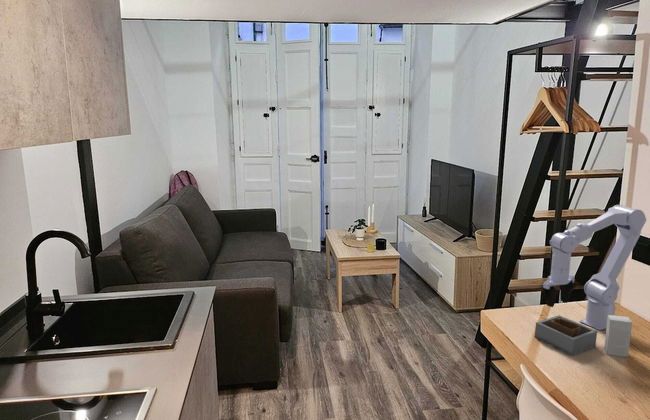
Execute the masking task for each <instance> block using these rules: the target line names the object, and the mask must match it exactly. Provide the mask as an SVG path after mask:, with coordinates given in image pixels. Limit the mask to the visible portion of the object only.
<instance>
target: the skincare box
mask: <svg viewBox="0 0 650 420" xmlns="http://www.w3.org/2000/svg"><path fill="white" fill-rule="evenodd" d="M632 326H633V322H632V320H631V319H630V317H629V316H623V315H622V316H620V315H615V316H613V315H608V318H607V327H606V329H605V331H606V332H605V337H604V348H603V349H604V352H605V354H606V355H609V356H616V357H624V358H625V357H626V358H628V357H629V352H630V344H631V335H632V329H633V328H632Z"/></svg>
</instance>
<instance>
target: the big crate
mask: <svg viewBox="0 0 650 420" xmlns="http://www.w3.org/2000/svg"><path fill="white" fill-rule="evenodd" d="M558 318H562V319H564V320H567V321H569V322H571V323H574V324H576V325H578V326H581V327H582V329H581V335H579V336H576V337H573V338H572V337H570V336H568V335H566V334H564V333H561V332H559V331H557V330H555V329H553V328H550V321H551V320H554V319H558ZM597 337H598V331H597V329H596V330H595V329H594V328H590V327H588V326H587V325H585V324H584V325H583V324H582V323H578V322H577V321H574V320H573V319H572V320H571V319H570V318H567V317H564V316H562V315H560V314H558V315H555V316H552V317H549V318H546V319H542V320H540V321H536V322H535V330H534V338H535V339H537V340H539V341H542V342H543V343H546V344H547V345H550V346H552V347H553V348H555V349H558V350H559V351H562V352H564V353H565V354H568V355H570V356H575V355H577V354H579V353H582V352H584V351H587V350H591V349H593V348H594V347H596V345H597Z"/></svg>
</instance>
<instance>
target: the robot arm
mask: <svg viewBox="0 0 650 420" xmlns="http://www.w3.org/2000/svg"><path fill="white" fill-rule="evenodd" d="M646 222H647V217H646V215H645V213H644V211H643V210H642V209H638V208H632V207H628V206H625V205H622V204H616V205H613V206H612V207H609V208H608V210H607V211H606V212H605V213H603V214H601V215H600V216H598V217H597V218H595V219H593V220H592V221H590V222H588V223H585V222H582V223H580V222H578V223H576V224H575V226H573V227H572V228H570V229H566V230H564V232H557V233H554V234H553V235H552V237H551V239H550V240H549V244H550V246H551V252H552V256H551V267H550V268H551V269H550V275H549V276H547V280H546V281H544V282H542V285H541V290H542V292H543V294H544V297H545V302H546V306H548V307H550V308H553V307H554V305H555V304H556V303H555V302H556V298H557V295H558V293H559V291H560V299H559V300H560V301H561V302H563V303H566V304H567V303H568V301H569V298H570V296H571V294H572V292H573V290H574V289H575V288H576V286H577V284H576V283H574V282H575V275H571V274H570V268H571V257H572V253H573V252H574V250H575V249H576V248H577V246H579V244H582V243H583V242H586V241H587V240H589V239H591V238H592V237H593V234H594V233H596V232H597V231H600V230H603V229H605V228H608V227H609V226H611V225H615V227H617V229H618V232H619V235H618V238H617V240H616V242H615V244H614V246H613V247H612V249H611V251H610V253H609V255H608V256H607V258H606V261H605V263H603V264H604V265H603V267H602V268H601V270H600V271H599V273H596V274H593V275H592V276H591V277H590V279H589V280H588V281H587V282H585V284H584V286H583V290H584V294H585V295H586V298H587V304H586V313H585V318H583V319H581V320H579V322H580V323H581V324H584V325H585V326H589V327H592V328H593V329H596V330H598V331H602V330H606V327H607V318H608V315H613V316H616V304H615V302H616V301H617V299H618V293H619V291H620V285H619V283H618V281H617V279H618V277H619V276H620V273H621V271H622V270H623V269H624V266H625V265H626V263H627V261H628V259H629V258H630V255H631V254H632V252H633V250H634V247H635V246H636V244H637V242H638V240H639V238H640V236H641V233H642V230H643V228H644V226H645V224H646ZM556 286H557V287H558V286H559V290H558V289H556V288H555V287H556Z"/></svg>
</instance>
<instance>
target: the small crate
mask: <svg viewBox="0 0 650 420" xmlns="http://www.w3.org/2000/svg"><path fill="white" fill-rule="evenodd" d="M550 328H553V329H555V330H557V331H559V332H561V333H564V334H566V335H568V336H570V337H572V338H573V337H576V336H579V335H581V329H582V327H581V326H578V325H576V324H574V323H571V322H569V321H567V320H564V319H562V318H558V319H554V320H551V321H550Z"/></svg>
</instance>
